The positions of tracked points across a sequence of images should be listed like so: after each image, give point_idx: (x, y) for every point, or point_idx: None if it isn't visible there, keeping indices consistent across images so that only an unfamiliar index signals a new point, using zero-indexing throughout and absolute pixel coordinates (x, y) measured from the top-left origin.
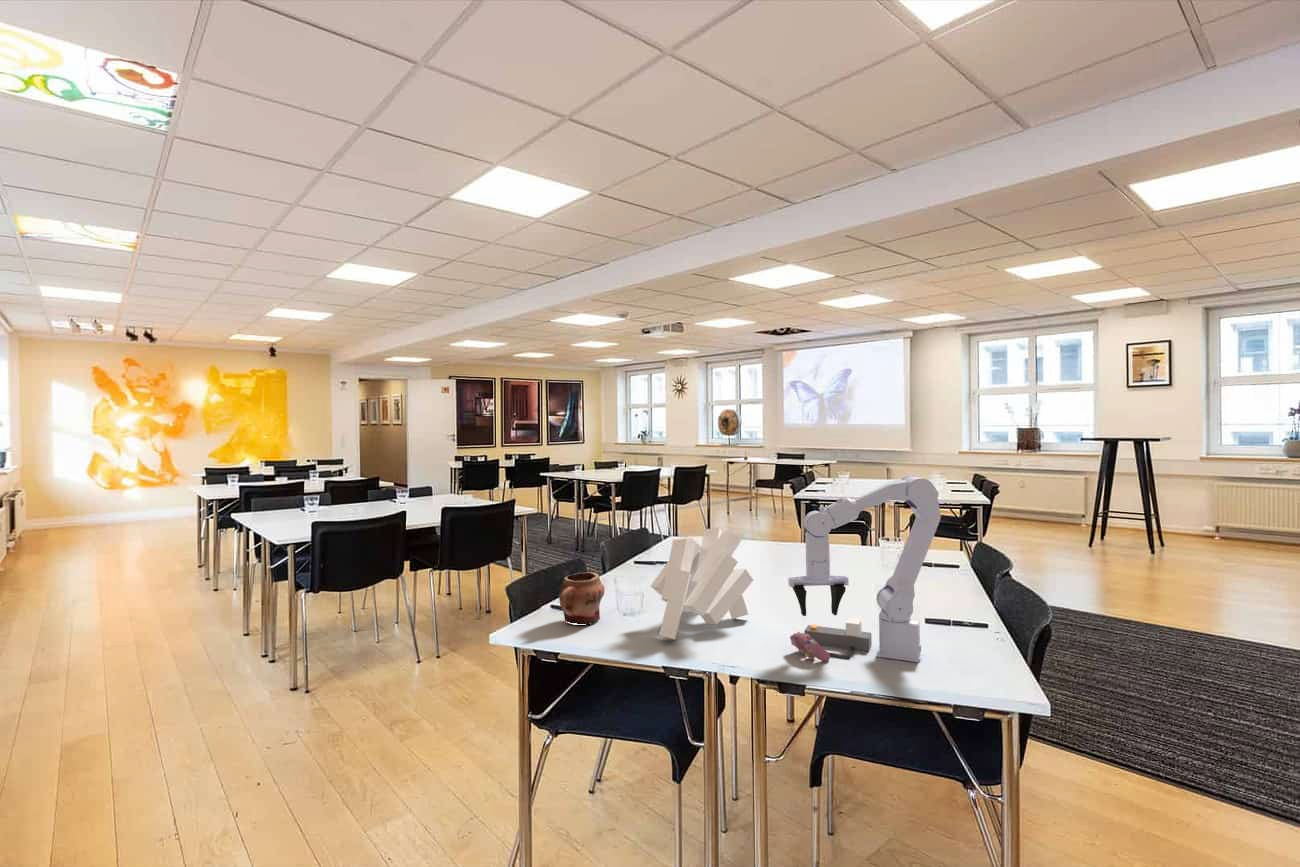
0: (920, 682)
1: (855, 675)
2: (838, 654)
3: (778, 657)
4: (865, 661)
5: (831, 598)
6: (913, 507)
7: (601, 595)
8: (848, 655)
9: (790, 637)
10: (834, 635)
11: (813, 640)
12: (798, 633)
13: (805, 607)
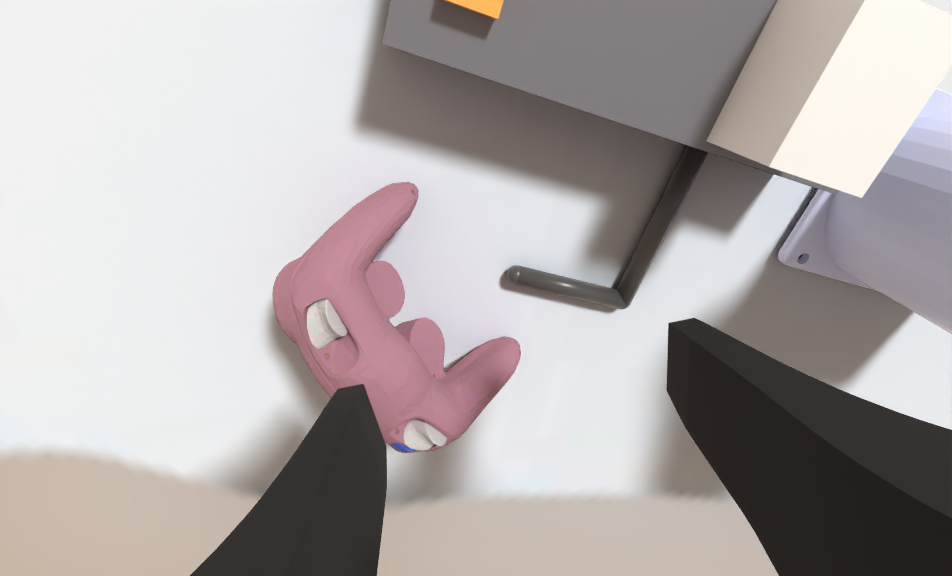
0: None
1: (590, 459)
2: (576, 296)
3: (238, 335)
4: (691, 316)
5: (777, 407)
6: None
7: None
8: (625, 305)
9: (276, 300)
10: (622, 122)
11: (436, 444)
12: (332, 333)
13: (374, 547)
